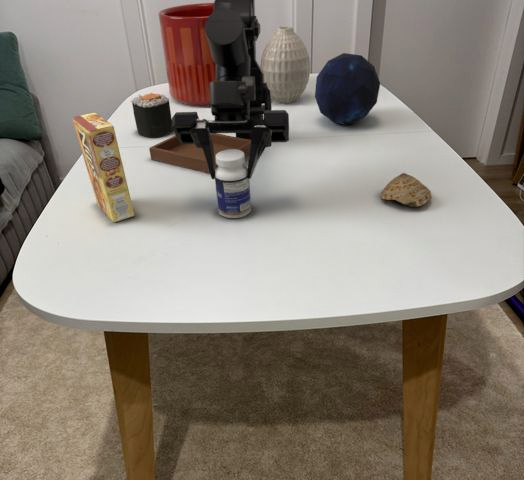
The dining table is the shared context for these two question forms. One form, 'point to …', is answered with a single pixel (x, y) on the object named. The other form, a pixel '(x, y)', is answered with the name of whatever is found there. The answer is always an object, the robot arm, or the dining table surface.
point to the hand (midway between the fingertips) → (230, 178)
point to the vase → (285, 65)
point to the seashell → (406, 191)
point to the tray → (195, 151)
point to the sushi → (152, 115)
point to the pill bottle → (232, 184)
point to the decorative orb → (347, 88)
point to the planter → (188, 53)
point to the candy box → (104, 165)
